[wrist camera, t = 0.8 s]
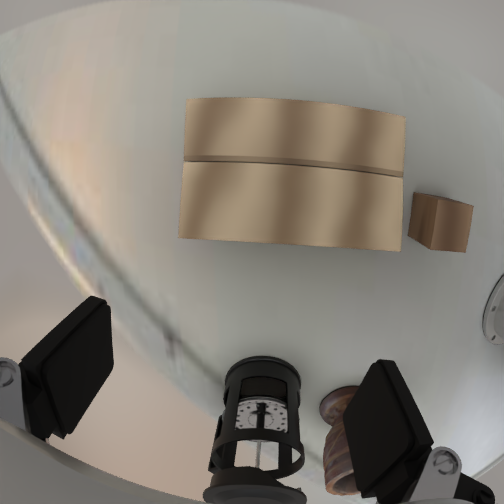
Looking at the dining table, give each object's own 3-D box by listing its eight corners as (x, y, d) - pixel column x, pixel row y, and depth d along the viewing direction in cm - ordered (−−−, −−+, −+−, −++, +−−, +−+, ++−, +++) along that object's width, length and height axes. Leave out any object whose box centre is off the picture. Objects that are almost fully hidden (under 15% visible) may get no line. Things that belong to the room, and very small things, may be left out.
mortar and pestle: (366, 356, 31) (416, 499, 12) (404, 380, 32) (455, 498, 13) (303, 409, 35) (311, 541, 16) (345, 427, 36) (365, 541, 17)
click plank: (395, 179, 25) (402, 176, 23) (393, 250, 25) (400, 251, 24) (188, 165, 26) (184, 161, 25) (183, 237, 27) (178, 238, 25)
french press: (272, 339, 31) (263, 546, 9) (319, 383, 33) (341, 555, 11) (201, 384, 34) (152, 545, 12) (250, 420, 36) (233, 567, 14)
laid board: (398, 118, 23) (405, 117, 22) (396, 175, 25) (403, 177, 23) (191, 102, 24) (186, 98, 23) (188, 161, 26) (183, 161, 24)
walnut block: (446, 197, 25) (473, 205, 20) (440, 238, 26) (465, 252, 22) (413, 192, 25) (438, 199, 21) (407, 235, 27) (430, 249, 22)
